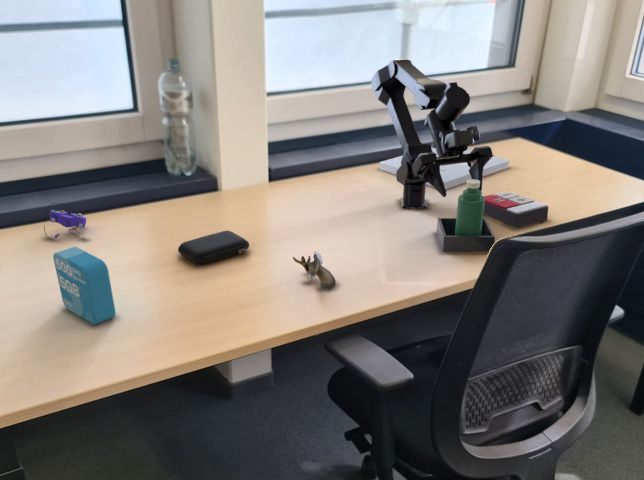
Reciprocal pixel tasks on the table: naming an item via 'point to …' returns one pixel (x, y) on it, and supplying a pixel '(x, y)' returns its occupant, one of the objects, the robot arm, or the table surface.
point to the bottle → (470, 210)
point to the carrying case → (213, 247)
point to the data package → (84, 285)
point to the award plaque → (451, 169)
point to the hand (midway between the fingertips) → (462, 193)
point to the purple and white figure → (67, 220)
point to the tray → (463, 237)
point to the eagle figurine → (317, 271)
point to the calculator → (514, 209)
